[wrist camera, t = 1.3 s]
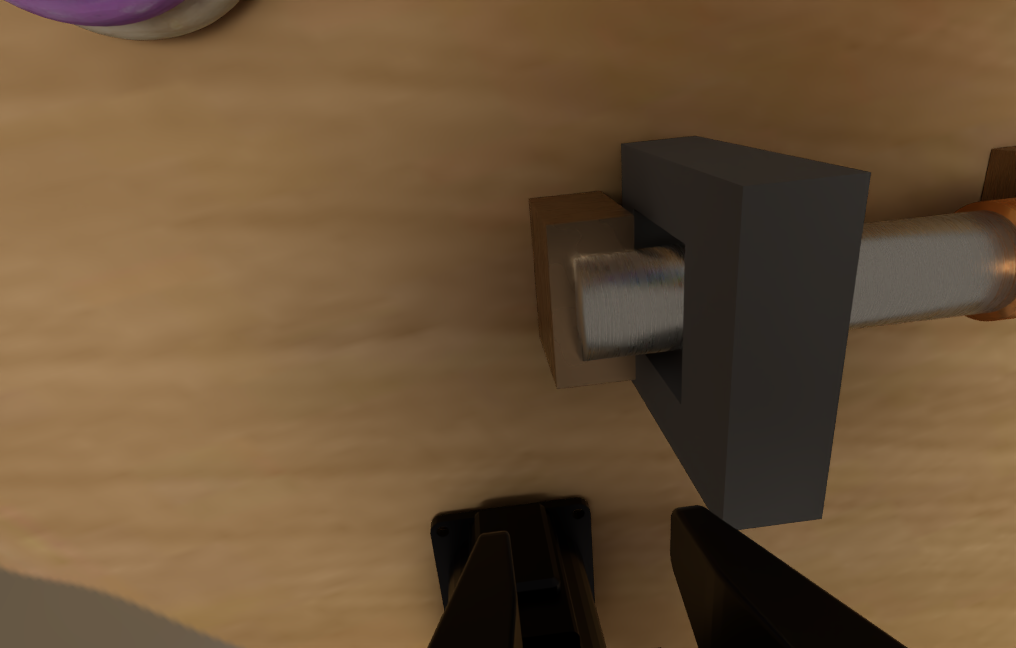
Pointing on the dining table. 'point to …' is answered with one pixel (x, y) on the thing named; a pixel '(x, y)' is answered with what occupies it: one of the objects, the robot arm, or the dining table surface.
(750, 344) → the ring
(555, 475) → the dining table surface
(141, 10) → the stacking toy
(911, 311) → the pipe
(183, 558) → the dining table surface
